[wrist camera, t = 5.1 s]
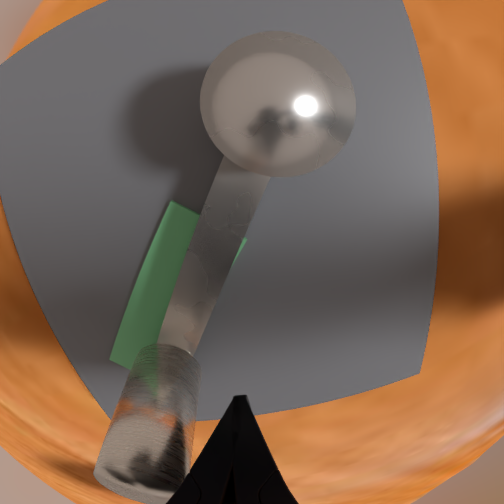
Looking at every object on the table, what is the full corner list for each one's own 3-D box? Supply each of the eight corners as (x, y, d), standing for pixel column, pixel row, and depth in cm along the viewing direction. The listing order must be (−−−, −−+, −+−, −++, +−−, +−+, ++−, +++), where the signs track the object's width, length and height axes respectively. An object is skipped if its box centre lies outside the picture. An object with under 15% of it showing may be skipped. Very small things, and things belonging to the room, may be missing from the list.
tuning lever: (238, 43, 8) (237, -90, 2) (343, 89, 9) (480, 37, 2) (121, 389, 14) (84, 496, 7) (190, 413, 14) (176, 524, 8)
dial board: (373, -16, 9) (390, -33, 7) (406, 354, 17) (420, 375, 15) (7, 79, 9) (-17, 76, 7) (119, 400, 17) (111, 423, 15)
